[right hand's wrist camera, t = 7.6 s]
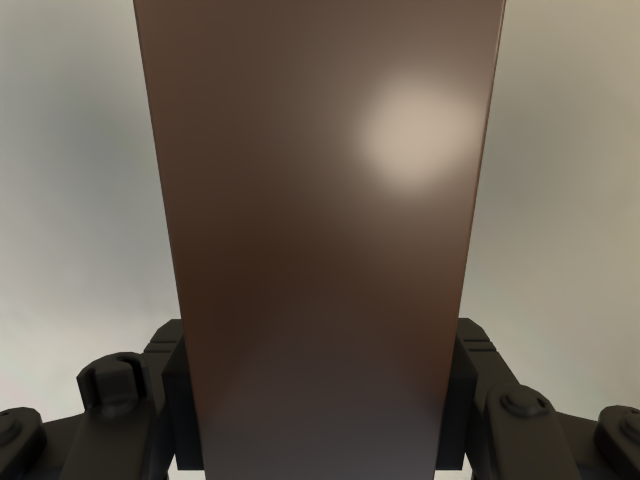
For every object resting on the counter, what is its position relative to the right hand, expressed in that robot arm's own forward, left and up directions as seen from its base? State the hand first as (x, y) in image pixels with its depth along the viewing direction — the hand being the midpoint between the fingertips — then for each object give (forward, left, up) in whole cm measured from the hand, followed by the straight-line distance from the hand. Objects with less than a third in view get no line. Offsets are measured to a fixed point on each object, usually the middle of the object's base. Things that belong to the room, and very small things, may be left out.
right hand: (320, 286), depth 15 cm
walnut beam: (0, -12, 0) cm, 12 cm away
